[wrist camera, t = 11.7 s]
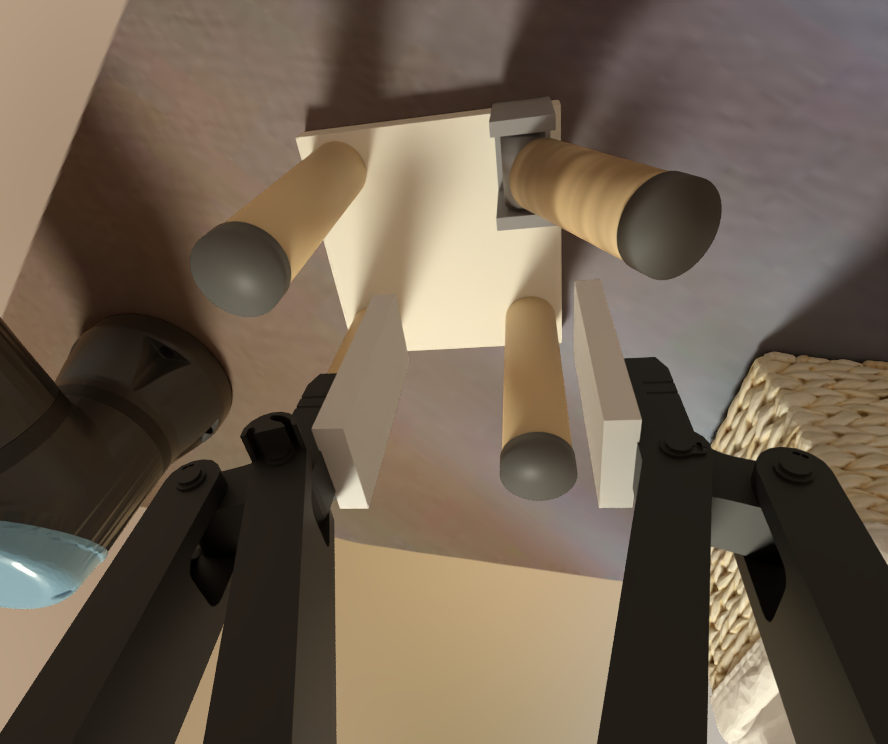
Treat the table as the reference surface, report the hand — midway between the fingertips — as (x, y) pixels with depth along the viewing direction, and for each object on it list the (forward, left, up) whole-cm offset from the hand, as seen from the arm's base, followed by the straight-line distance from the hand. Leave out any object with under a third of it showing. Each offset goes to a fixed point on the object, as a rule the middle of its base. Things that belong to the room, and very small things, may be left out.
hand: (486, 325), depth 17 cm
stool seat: (-5, -7, -25) cm, 26 cm away
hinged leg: (+6, 0, -14) cm, 15 cm away
